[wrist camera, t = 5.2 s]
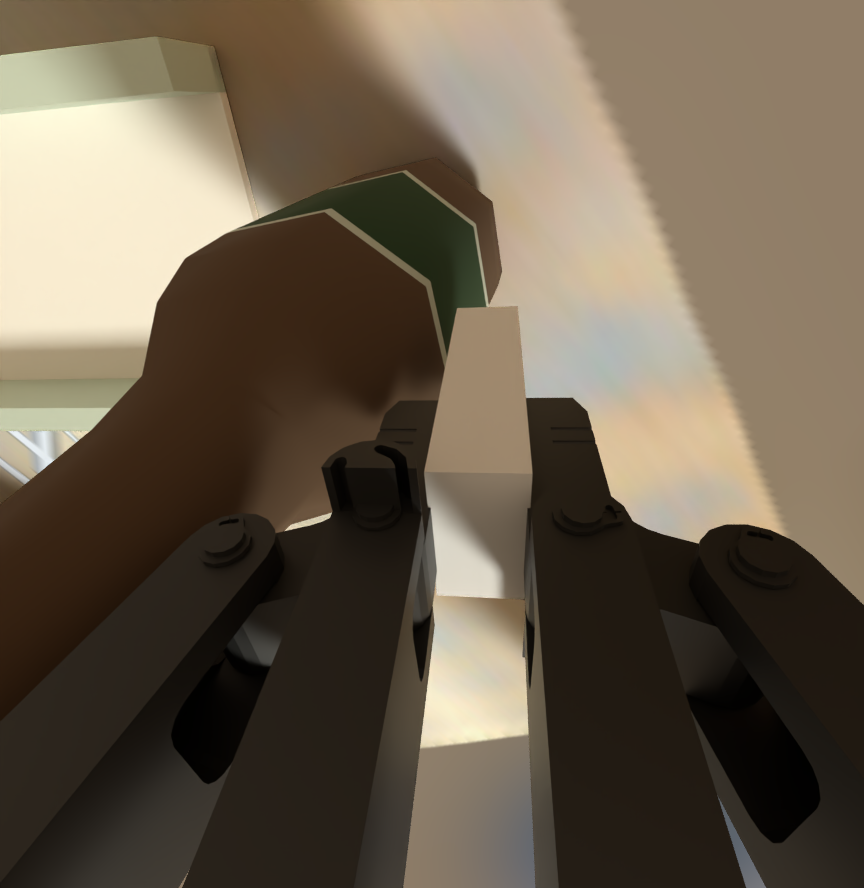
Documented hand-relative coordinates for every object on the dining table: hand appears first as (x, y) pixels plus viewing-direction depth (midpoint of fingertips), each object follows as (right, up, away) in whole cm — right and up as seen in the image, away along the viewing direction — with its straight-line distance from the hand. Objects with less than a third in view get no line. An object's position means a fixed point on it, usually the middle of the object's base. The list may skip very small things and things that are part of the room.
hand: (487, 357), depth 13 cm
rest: (-20, +7, +13) cm, 24 cm away
